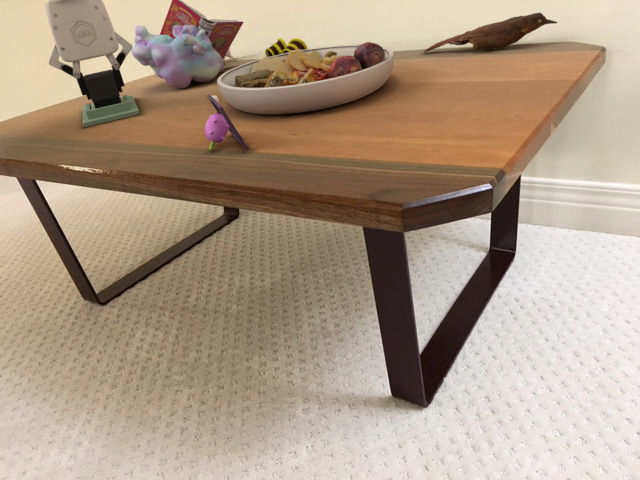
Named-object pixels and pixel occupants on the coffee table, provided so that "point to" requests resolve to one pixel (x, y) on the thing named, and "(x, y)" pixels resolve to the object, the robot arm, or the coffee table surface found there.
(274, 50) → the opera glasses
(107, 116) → the dock
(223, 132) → the purple panel with bulb
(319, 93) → the bowl
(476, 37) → the bird sculpture
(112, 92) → the gripped black block
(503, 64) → the coffee table surface
